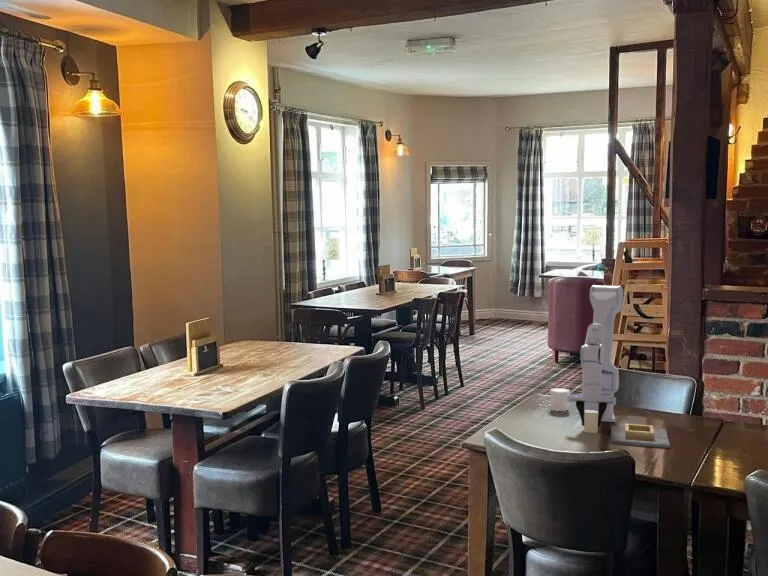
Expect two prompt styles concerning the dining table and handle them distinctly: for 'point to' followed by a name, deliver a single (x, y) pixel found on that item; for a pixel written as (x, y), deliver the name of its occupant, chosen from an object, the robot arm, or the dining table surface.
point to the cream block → (591, 421)
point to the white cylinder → (559, 398)
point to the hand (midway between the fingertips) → (591, 425)
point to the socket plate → (639, 436)
